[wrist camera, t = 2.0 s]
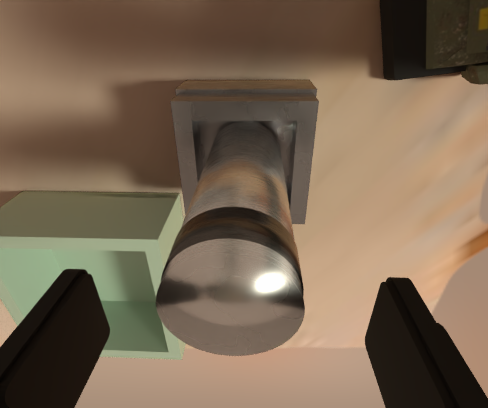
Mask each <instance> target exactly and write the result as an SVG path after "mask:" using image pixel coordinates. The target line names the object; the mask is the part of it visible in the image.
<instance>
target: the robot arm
mask: <svg viewBox="0 0 488 408" xmlns="http://www.w3.org/2000/svg"><path fill="white" fill-rule="evenodd" d="M109 335H110V326H109V323H108V320H107V317H106V314H105V312H104V309H103V306H102V303H101V300H100V297H99V294H98V291H97V288H96V285H95V283H94V280H93V277H92V275H91V274H88V272H87V271H86V270H85V269H65V270H64V271H63V272H62V273H61V274H60V275H59V276H58V277H57V279H56V280H55V281H54V282H53V284H52V285H51V286H50V287H49V288H48V290H47V291H46V292H45V293H44V295H43V296H42V297H41V298H40V299H39V301H38V302H37V303H36V304H35V306H34V307H33V308H32V309H31V310H30V312H29V313H28V314H27V315H26V317H25V318H24V319H23V320H22V321H21V323H20V324H19V325H18V326H17V328H16V329H15V330H14V331H13V332H12V334H11V335H10V336H9V337H8V339H7V340H6V341H5V342H4V343H3V345H2V346H1V347H0V408H74V407H75V405H76V403H77V401H78V399H79V397H80V395H81V393H82V391H83V389H84V387H85V385H86V383H87V381H88V379H89V377H90V375H91V373H92V371H93V369H94V367H95V365H96V363H97V361H98V359H99V357H100V355H101V353H102V351H103V348H104V346H105V344H106V342H107V340H108V338H109ZM365 345H366V349H367V352H368V355H369V358H370V361H371V364H372V368H373V370H374V373H375V376H376V379H377V383H378V386H379V389H380V392H381V395H382V398H383V401H384V404H385V407H386V408H488V398H487V397H486V395H485V393H484V392H483V390H482V388H481V387H480V385H479V384H478V382H477V380H476V378H475V377H474V375H473V374H472V372H471V371H470V369H469V367H468V366H467V364H466V362H465V361H464V359H463V357H462V356H461V354H460V352H459V351H458V349H457V347H456V346H455V344H454V343H453V341H452V339H451V338H450V336H449V334H448V333H447V331H446V330H445V329H444V327H443V326H442V325H440V324H439V323H436V321H435V320H434V318H433V316H432V315H431V313H430V311H429V310H428V308H427V306H426V305H425V303H424V301H423V300H422V298H421V296H420V295H419V293H418V291H417V290H416V288H415V286H414V285H413V283H412V281H411V280H410V279H409V278H393V277H389V278H388V279H387V280H386V282H382V283H381V285H380V288H379V291H378V295H377V298H376V302H375V305H374V308H373V312H372V315H371V319H370V322H369V326H368V329H367V332H366V336H365Z"/></svg>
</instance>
